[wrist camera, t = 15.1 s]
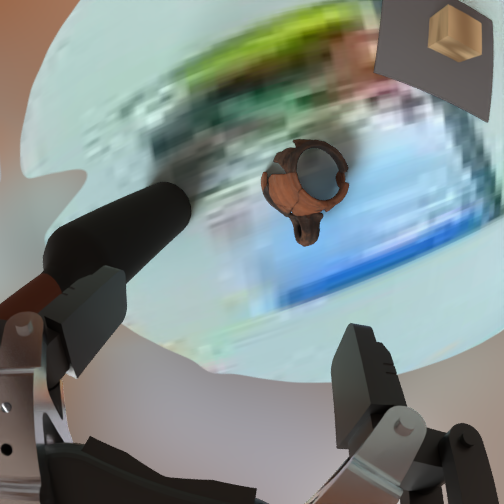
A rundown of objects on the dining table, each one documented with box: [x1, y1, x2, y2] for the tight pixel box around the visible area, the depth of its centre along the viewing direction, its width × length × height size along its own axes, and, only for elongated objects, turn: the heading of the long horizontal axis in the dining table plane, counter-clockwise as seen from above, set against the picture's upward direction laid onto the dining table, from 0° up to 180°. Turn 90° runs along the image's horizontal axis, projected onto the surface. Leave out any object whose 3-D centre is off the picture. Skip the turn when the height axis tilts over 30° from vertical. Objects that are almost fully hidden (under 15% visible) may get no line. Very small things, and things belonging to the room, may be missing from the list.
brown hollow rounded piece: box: [261, 139, 349, 246], centre depth 33 cm, size 12×10×8 cm
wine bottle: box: [0, 182, 191, 321], centre depth 25 cm, size 8×8×30 cm
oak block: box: [428, 4, 482, 62], centre depth 21 cm, size 5×5×6 cm
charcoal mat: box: [374, 0, 493, 122], centre depth 24 cm, size 18×18×1 cm
